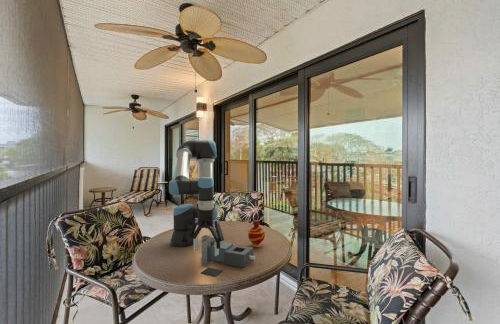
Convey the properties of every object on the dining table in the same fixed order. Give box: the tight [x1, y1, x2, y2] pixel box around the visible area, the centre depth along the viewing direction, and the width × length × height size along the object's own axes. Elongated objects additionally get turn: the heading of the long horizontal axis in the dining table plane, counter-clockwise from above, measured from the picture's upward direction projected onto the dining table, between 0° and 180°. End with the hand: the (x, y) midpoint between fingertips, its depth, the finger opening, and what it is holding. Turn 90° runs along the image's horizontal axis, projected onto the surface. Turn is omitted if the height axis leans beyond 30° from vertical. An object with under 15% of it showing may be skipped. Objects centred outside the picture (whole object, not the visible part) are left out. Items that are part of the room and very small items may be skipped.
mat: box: [200, 266, 224, 277], centre depth 117 cm, size 8×6×1 cm
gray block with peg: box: [200, 234, 212, 267], centre depth 125 cm, size 3×6×14 cm, turn 156°
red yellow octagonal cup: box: [247, 219, 266, 248], centre depth 152 cm, size 10×10×15 cm
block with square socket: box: [211, 236, 256, 268], centre depth 131 cm, size 27×11×9 cm, turn 66°
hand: (206, 253), depth 125 cm, fingers open, 11 cm apart
